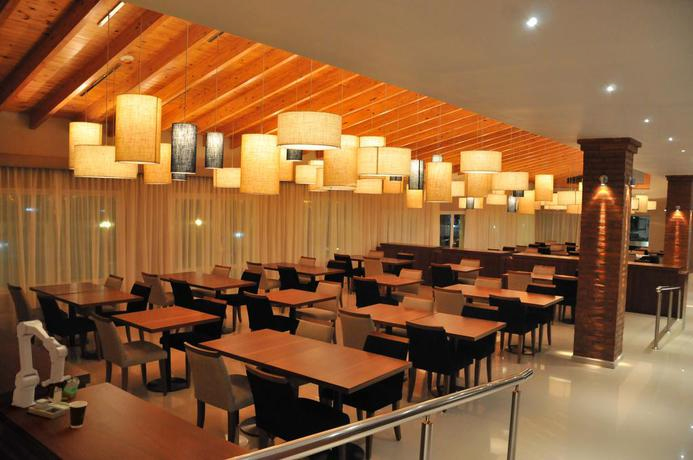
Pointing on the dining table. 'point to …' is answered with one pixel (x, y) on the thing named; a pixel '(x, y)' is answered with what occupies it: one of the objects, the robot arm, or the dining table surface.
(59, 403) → the tray
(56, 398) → the plug
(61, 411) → the grey cubby shelf
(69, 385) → the food container
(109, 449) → the dining table surface
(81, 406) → the dixie cup
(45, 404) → the beige block
